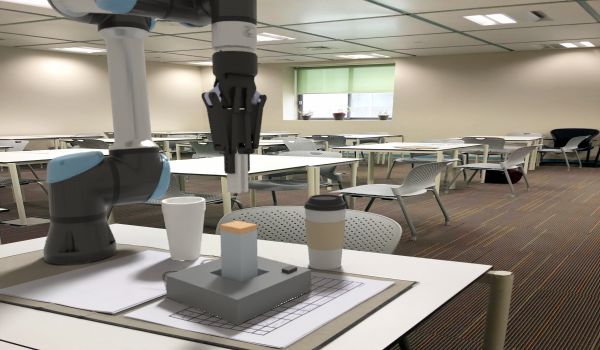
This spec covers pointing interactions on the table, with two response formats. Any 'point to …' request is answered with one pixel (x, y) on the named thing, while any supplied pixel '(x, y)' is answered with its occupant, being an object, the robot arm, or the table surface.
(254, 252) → the plug peg
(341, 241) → the coffee cup
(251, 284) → the socket block
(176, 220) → the foam cup
